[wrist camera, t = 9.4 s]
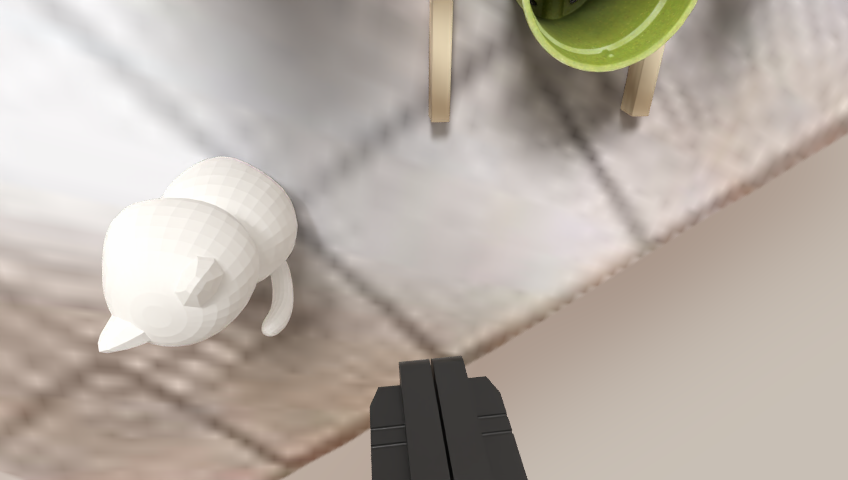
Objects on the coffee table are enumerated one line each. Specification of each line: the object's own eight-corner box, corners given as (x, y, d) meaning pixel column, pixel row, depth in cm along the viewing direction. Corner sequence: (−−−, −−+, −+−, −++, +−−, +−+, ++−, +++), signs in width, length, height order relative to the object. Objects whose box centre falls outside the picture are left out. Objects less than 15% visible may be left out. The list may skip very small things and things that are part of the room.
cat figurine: (231, 111, 33) (145, 208, 20) (346, 239, 39) (335, 379, 26) (137, 183, 35) (2, 314, 22) (260, 295, 41) (210, 452, 28)
